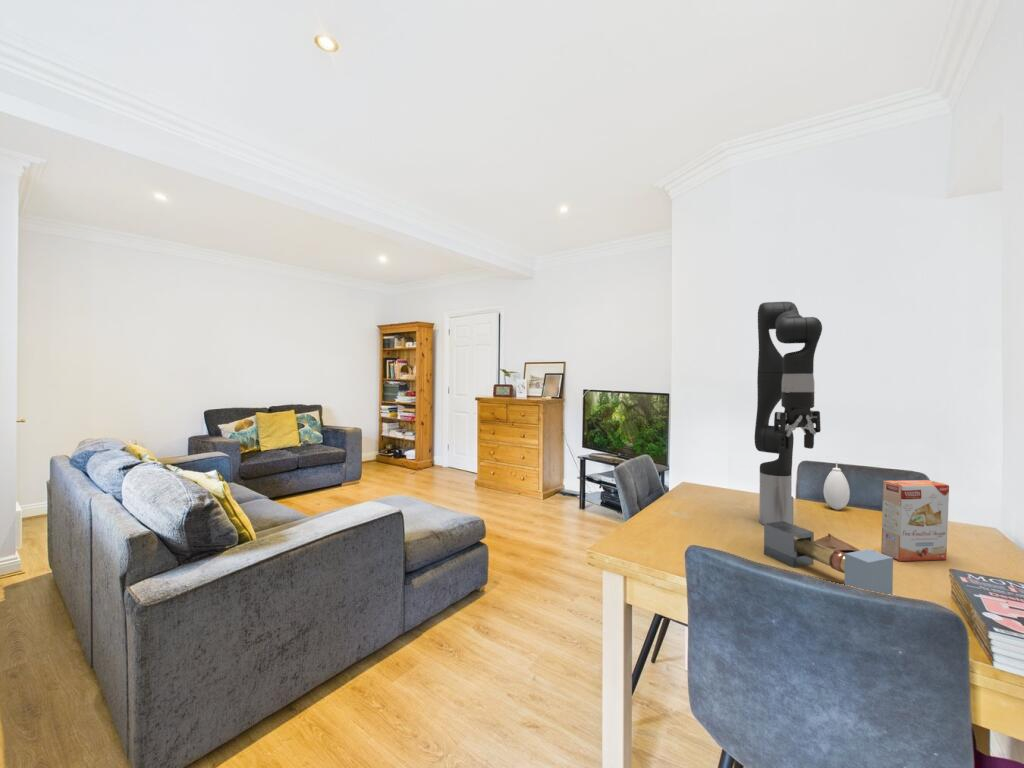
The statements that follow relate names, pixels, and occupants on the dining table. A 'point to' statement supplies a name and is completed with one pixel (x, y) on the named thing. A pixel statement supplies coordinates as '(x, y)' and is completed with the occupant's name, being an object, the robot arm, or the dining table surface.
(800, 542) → the rod
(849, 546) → the sunglasses case
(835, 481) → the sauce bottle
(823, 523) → the dining table surface
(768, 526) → the sleeve
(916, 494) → the cracker box
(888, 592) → the socket
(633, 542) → the dining table surface
